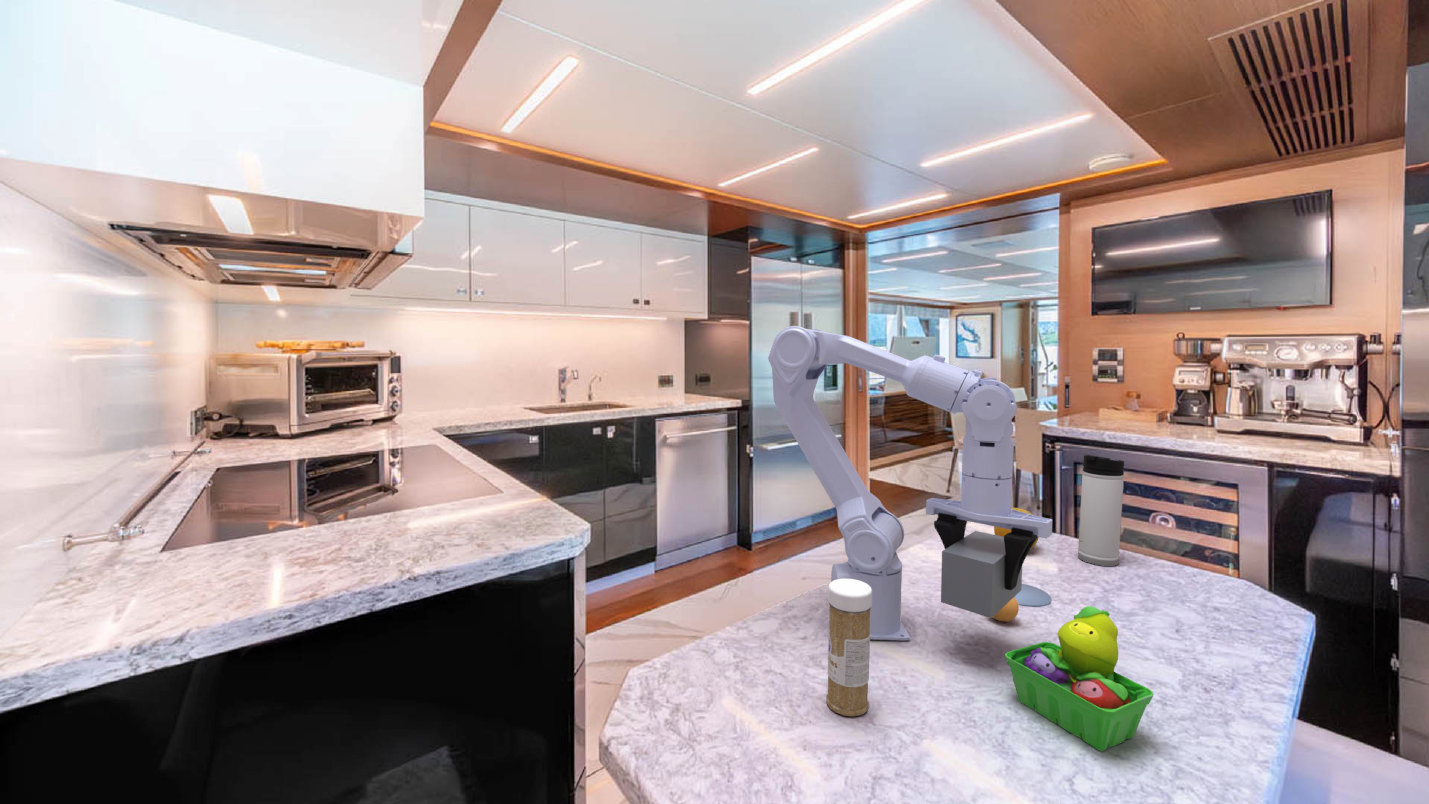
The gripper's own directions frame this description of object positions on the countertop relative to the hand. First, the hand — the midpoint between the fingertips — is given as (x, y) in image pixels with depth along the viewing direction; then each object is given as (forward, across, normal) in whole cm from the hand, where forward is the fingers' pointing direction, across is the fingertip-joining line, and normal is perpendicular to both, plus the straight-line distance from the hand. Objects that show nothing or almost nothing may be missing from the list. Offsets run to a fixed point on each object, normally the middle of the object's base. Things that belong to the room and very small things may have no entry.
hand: (982, 579), depth 70 cm
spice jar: (+10, +6, +22) cm, 25 cm away
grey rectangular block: (+2, 0, 0) cm, 2 cm away
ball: (+7, +1, -11) cm, 13 cm away
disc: (+9, +2, -22) cm, 24 cm away
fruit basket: (+10, -12, +6) cm, 17 cm away
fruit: (+10, +10, -45) cm, 47 cm away
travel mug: (+10, -3, -49) cm, 50 cm away
